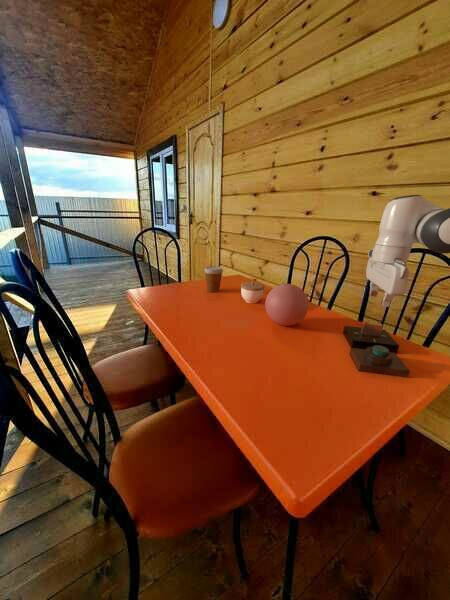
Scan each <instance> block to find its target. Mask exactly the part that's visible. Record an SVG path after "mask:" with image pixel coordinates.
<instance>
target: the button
mask: <svg viewBox="0 0 450 600" xmlns="http://www.w3.org/2000/svg"><path fill="white" fill-rule="evenodd" d="M372 353H373V354H375V355H377V356H381V357H387V354H388V349H387V348H386V347H383V346H380V345H375V346H373V350H372Z"/></svg>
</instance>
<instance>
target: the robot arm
mask: <svg viewBox="0 0 450 600" xmlns="http://www.w3.org/2000/svg"><path fill="white" fill-rule="evenodd" d="M414 244H420V245H422V246H424V247H426V248H427V249H429V250H430V251H431V252H435V253H437V254H450V207H449V208H446V209H445V208H444V207H440V206H438V205H436V204H434V203H432V202H430V201H428V200H427V199H426V198H425V197H424V196H423V195H421V194H409V195H403V196H397V197H394V198H392V199H390V200H389V201H388V202H387V204H386V205H385V207H384V209H383V212H382V215H381V219H380V223H379V227H378V237H377V240H376V241H375V244H374V247H373V248H371V249H369V250H368V253H367V256H368V260H367V264H366V271H365V278H366V279H367V280H368V281H370V283H369V287H370V288H369V296H370V297H375V298H376V297H378V294H379V291H378V288H379V289H381V290H382V291H383V292H384V297H383V298H382V299H381V302H380V305H381V306H382V307H383V308H389V307H390V305H391V302H392V301H393V300H394V299H395V296H396V297H402V296H404V294H405V293H406V292H407V287H408V282H409V278H410V270H409V268H408V266H407V264H408V261H409V258H410V254H411V250H412V247H413V245H414Z"/></svg>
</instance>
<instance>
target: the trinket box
mask: <svg viewBox="0 0 450 600" xmlns="http://www.w3.org/2000/svg"><path fill="white" fill-rule="evenodd" d="M264 291H265V284H263V283H260V282H257V281H256V282H255V280H254V281H244V282H242V283H241V284H240V294H241V297H242V299H243V300H244V301H245V302H246V303H248V304H257V303H259V301H260V300H262V298H263V296H264Z"/></svg>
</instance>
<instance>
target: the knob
mask: <svg viewBox="0 0 450 600" xmlns="http://www.w3.org/2000/svg"><path fill="white" fill-rule="evenodd" d="M383 327H384V326H383V324H382V323H380V322H370V321H367V320H363V321H362V323H361V331H360V333H361V334H362V335H369V336H378V337H380V334H381V331H382V330H383Z"/></svg>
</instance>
